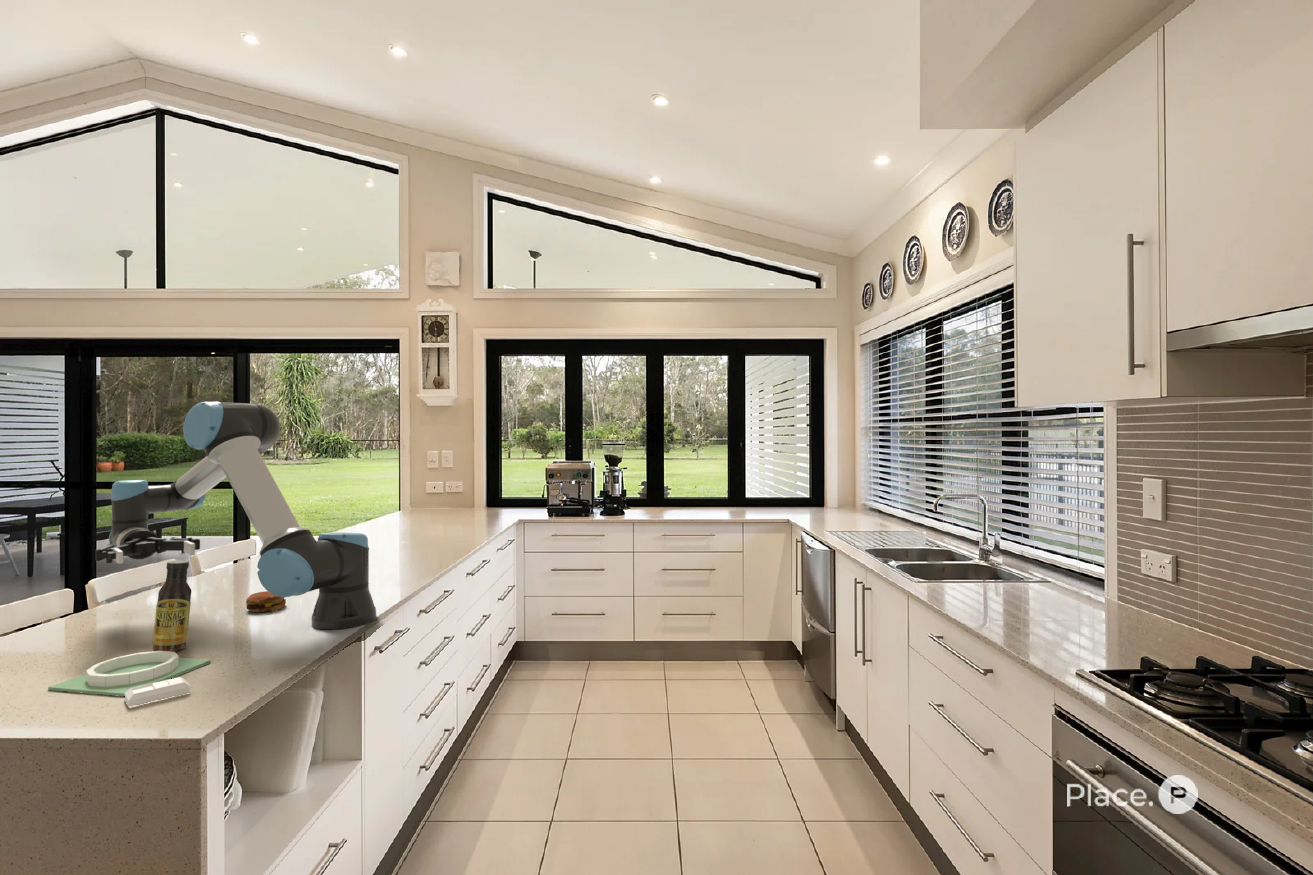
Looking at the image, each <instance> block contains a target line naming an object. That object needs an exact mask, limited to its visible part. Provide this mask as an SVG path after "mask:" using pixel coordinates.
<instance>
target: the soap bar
mask: <svg viewBox="0 0 1313 875" xmlns="http://www.w3.org/2000/svg"><path fill="white" fill-rule="evenodd" d="M187 693H190V694H191V685H190V684H189V682H188V681H187V680H186V679H185V678H183V677H181V676H180V677H179V676H177V677H174V678H172V679H169V680H165V681H160V682H156V683H151V684H147V685H143V686H138V687H134V688H131V689H129V690H128V691H127V692H126V693H125V697H124V701H125V700H126V703H127V705H128V707H129V706H133V705H140V704H144V703H148V702H151V701H155V700H161V699H165V698H169V697H172V696H179V695H183V694H187ZM187 695H188V694H187ZM183 696H184V695H183ZM179 697H180V696H179ZM126 703H125V704H126ZM127 705H126V706H127ZM128 707H127V708H128Z"/></svg>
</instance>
